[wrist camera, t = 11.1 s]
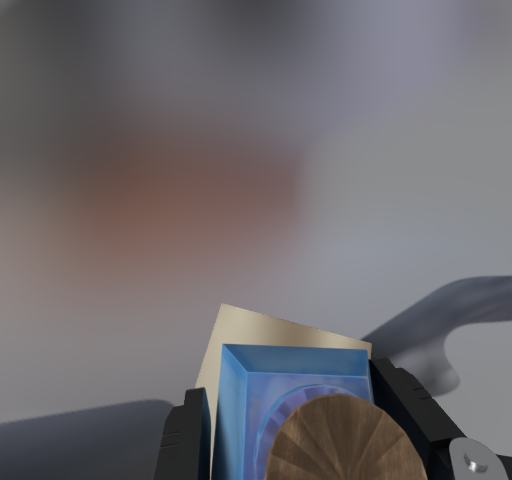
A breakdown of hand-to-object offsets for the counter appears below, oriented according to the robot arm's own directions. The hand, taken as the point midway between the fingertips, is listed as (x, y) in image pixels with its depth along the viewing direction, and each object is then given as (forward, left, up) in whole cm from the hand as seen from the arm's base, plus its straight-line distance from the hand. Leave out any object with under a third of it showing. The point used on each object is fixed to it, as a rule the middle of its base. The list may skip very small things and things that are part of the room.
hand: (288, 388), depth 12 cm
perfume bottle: (+1, -1, -6) cm, 6 cm away
